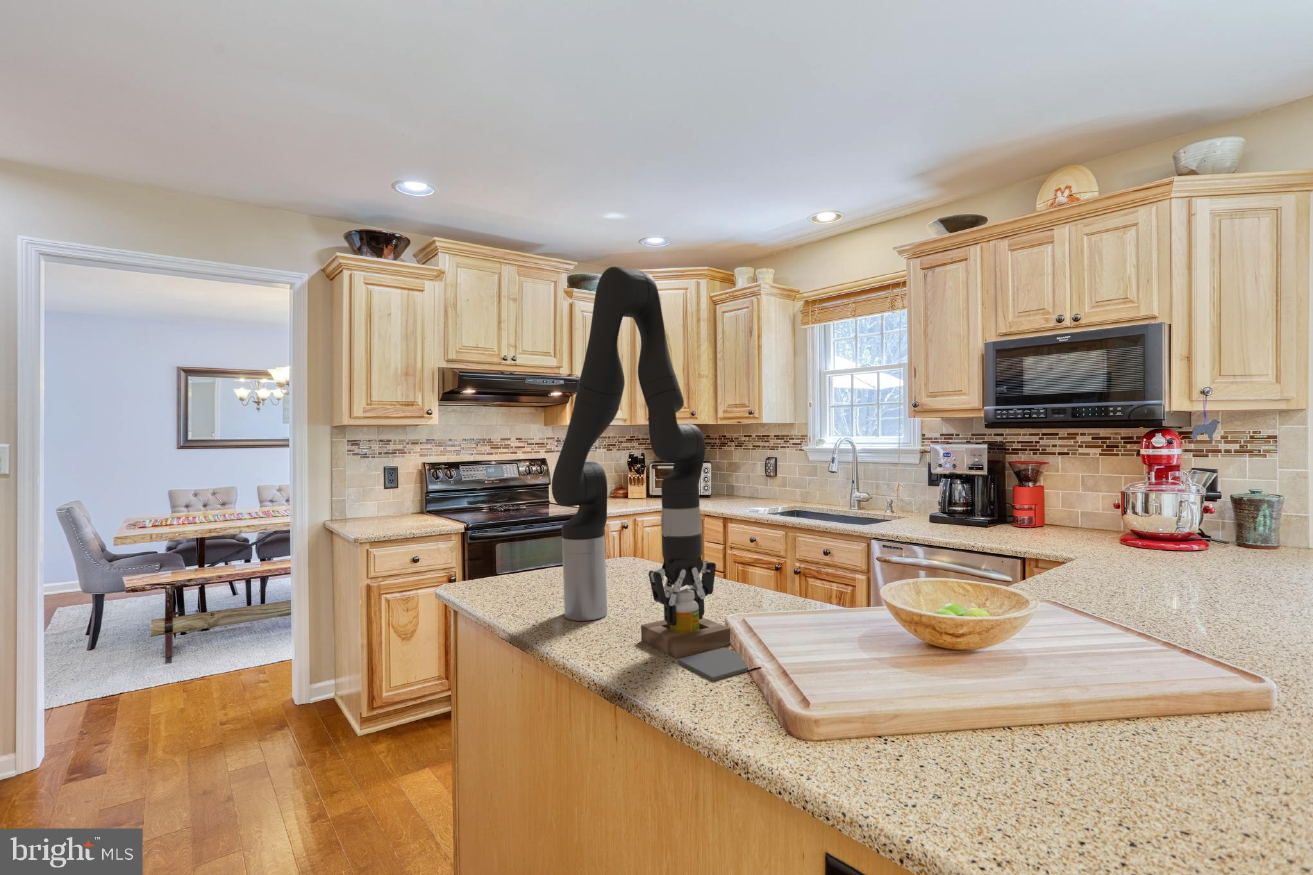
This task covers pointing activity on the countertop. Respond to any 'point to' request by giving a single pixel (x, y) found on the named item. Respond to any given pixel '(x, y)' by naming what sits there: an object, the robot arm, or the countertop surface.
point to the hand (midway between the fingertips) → (684, 621)
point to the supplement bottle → (686, 612)
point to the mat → (715, 663)
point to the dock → (685, 637)
